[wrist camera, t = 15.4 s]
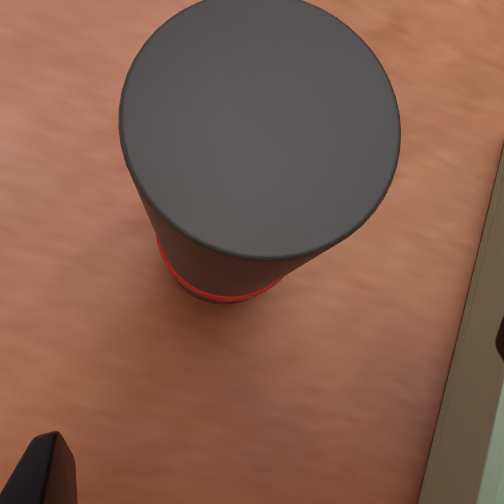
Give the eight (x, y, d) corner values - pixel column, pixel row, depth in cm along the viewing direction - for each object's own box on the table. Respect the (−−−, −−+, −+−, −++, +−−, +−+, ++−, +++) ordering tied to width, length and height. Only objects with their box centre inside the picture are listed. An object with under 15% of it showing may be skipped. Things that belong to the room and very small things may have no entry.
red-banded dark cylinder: (290, 292, 19) (444, 232, 7) (178, 318, 18) (143, 299, 6) (264, 185, 20) (366, -33, 8) (154, 206, 19) (84, 3, 7)
